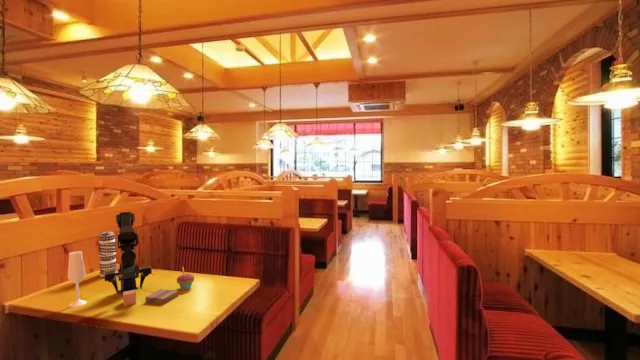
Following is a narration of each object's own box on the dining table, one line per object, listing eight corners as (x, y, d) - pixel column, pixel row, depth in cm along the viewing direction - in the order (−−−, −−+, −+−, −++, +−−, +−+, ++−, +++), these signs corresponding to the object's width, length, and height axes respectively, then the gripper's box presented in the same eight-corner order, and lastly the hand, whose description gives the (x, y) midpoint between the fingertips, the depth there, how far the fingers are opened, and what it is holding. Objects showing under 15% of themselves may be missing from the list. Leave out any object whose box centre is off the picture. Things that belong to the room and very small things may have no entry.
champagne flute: (76, 300, 159) (74, 250, 158) (90, 300, 159) (88, 250, 158) (65, 306, 152) (62, 254, 151) (79, 306, 152) (77, 254, 151)
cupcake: (188, 291, 169) (187, 268, 168) (173, 290, 171) (172, 267, 170) (197, 285, 177) (197, 263, 177) (183, 284, 179) (182, 262, 178)
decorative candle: (103, 277, 191) (102, 234, 190) (96, 275, 196) (94, 232, 195) (120, 273, 199) (118, 231, 198) (112, 270, 204) (111, 230, 203)
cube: (123, 306, 152) (123, 295, 152) (123, 302, 157) (123, 291, 156) (136, 303, 155) (135, 293, 155) (135, 300, 159) (135, 289, 159)
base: (145, 302, 156) (145, 297, 156) (160, 294, 166) (160, 289, 166) (164, 304, 154) (164, 298, 154) (178, 295, 163) (178, 290, 163)
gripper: (103, 265, 143) (105, 301, 144) (152, 259, 153) (153, 292, 154) (104, 259, 153) (105, 293, 153) (150, 253, 162) (151, 285, 163)
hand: (129, 291), depth 156 cm, fingers open, 9 cm apart
